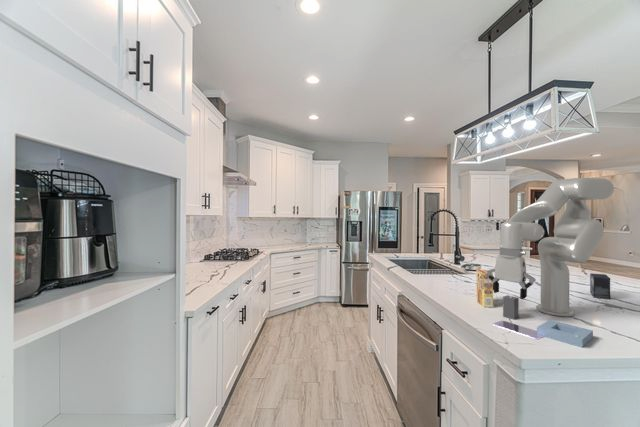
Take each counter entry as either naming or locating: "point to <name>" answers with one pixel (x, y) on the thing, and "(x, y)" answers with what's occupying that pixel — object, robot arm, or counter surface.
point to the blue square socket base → (565, 333)
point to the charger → (511, 307)
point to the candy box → (484, 288)
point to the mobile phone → (518, 329)
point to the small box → (600, 286)
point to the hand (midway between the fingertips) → (509, 295)
